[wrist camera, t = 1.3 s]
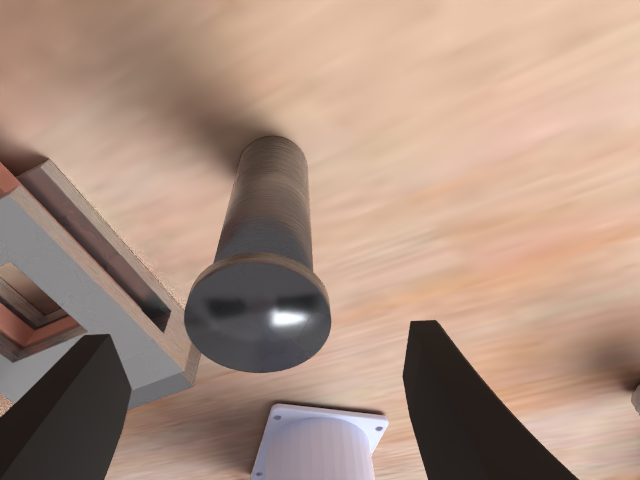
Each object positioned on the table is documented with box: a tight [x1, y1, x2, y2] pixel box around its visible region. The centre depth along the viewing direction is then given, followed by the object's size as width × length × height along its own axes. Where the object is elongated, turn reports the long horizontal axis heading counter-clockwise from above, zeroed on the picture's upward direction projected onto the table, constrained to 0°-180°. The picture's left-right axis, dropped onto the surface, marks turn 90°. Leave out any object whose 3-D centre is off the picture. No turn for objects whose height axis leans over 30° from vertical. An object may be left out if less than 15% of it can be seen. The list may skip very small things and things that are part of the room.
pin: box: [184, 136, 331, 373], centre depth 15 cm, size 4×4×10 cm
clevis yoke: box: [0, 159, 201, 410], centre depth 22 cm, size 13×9×3 cm
